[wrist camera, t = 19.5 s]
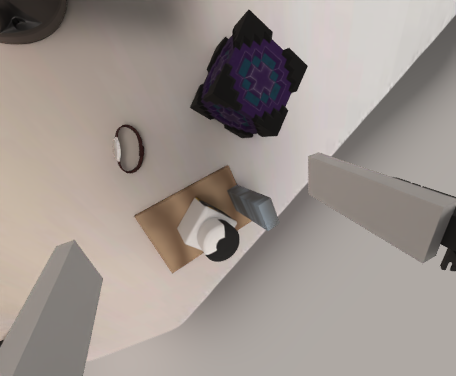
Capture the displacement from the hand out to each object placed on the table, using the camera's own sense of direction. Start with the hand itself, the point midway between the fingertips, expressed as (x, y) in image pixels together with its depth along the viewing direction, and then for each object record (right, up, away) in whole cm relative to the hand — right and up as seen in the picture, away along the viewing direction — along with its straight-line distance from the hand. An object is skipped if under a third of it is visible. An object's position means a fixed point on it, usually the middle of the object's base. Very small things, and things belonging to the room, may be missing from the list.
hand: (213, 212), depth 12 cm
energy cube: (+1, +20, +29) cm, 35 cm away
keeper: (-5, -5, +31) cm, 32 cm away
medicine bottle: (-5, -5, +30) cm, 31 cm away
